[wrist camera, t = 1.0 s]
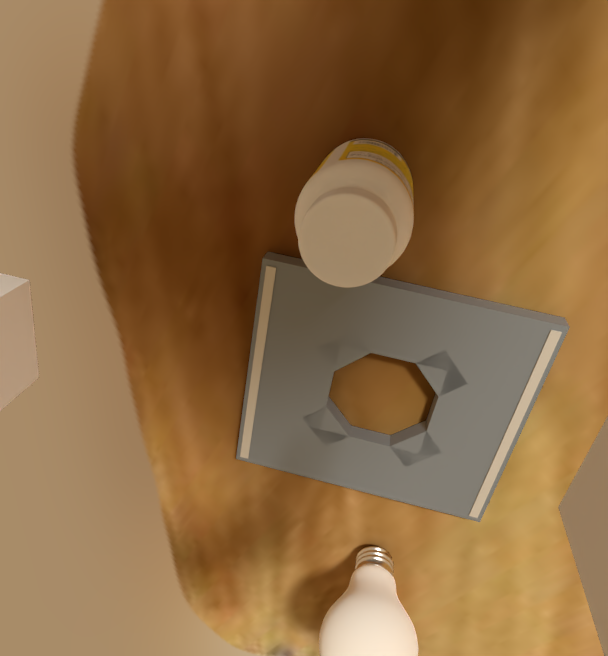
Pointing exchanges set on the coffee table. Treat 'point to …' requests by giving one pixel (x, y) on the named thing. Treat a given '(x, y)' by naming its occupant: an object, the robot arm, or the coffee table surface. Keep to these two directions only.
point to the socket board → (404, 344)
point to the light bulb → (369, 613)
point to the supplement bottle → (355, 213)
